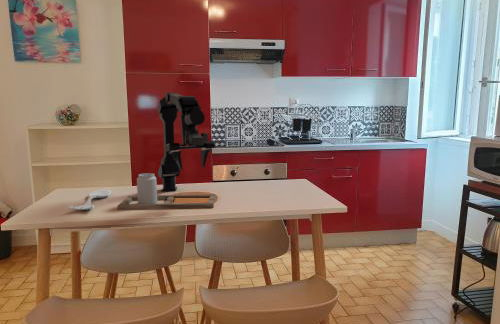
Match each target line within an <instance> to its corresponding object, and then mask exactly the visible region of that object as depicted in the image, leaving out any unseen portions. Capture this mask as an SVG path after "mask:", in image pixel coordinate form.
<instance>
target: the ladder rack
mask: <svg viewBox="0 0 500 324" xmlns="http://www.w3.org/2000/svg"><path fill="white" fill-rule="evenodd" d="M174 198H210V199H209V202H208V203H173V202H172V201H173V199H174ZM165 199H167V200H165ZM215 200H216V194H209V193H208V194H167V195H166V194H161V195H160V194H159V195H158V194H157V201H164V203H155V204H139V203H132V202H134V201H138V195H128V196H126V198H124V199H123V201H121V202H120V203H119V204H118V205H117V206H116V207H117V210H118V211H120V210H124V211H125V210H165V209H166V210H167V209H173V210H175V209H177V210H178V209H213V208H214V207H215V203H216V202H215Z"/></svg>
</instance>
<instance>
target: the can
mask: <svg viewBox="0 0 500 324" xmlns="http://www.w3.org/2000/svg"><path fill="white" fill-rule="evenodd" d="M137 175H138V177H137V178H136V191H137V196H138V200H137V204H157V203H158V200H157V195H158V185H157V176H155V173H150V172H149V173H148V172H147V173H145V172H144V173H140V174H137Z"/></svg>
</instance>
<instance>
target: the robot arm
mask: <svg viewBox="0 0 500 324" xmlns="http://www.w3.org/2000/svg"><path fill="white" fill-rule="evenodd" d="M157 112H158V117H159V119H160V120H161V122H162V127H163V131H162V133H163V157H162V158H161V160H160V165H159V168H158V171H157V174H158V177H159V178H161V179H162V188H161V190H160V191H161V192H176V191H177V189H178V186H176V178H177V177H180V173H181V171H182V170H183V163H182V157H181V156H182V155H181V154H182V150H189V149H191V150H192V149H194V150H195V149H201V150H199V151H200V162H201V167H202V168H203V169H204V168H205V167H206V163H207V159H208V156H209V154H210V152H211V151H213V149H216V143H215V141H214V140H209V136H208V135H209V134H208V132H201V134H200V133H199V130H198V129H197V126H200V125H202V124H203V123H204V122H205V118H206V117H205V113H204V112H203V111H202V107H201V106H200V104H199V102H198V99H197V98H196V96H195V95H181V94H180V93H178V92H165V95H164V96H163V98H161V99H160V100H159V101H158V105H157ZM178 112H179V113H181V114H180V115H179V118H180V129H181V131H180V135H181V138H182V141H181V144H180V143H179V142H175V125H174V123H175V121H176V119H178Z"/></svg>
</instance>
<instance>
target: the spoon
mask: <svg viewBox="0 0 500 324" xmlns="http://www.w3.org/2000/svg"><path fill="white" fill-rule="evenodd" d="M110 194H111V195H112V191H111V190H110V189H107V188H101V189H96V190H94V191H91V192H89V194H88V195H87V196H88V198H87V200H86V201H85V203H84V204H82V205H76V206H72V205H68V210H77V211H89V210H92V209H94V207H95V205H92V200H93V199H102V198H103V199H104V198H105V197H106V198H107V197H108V196H110Z"/></svg>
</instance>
